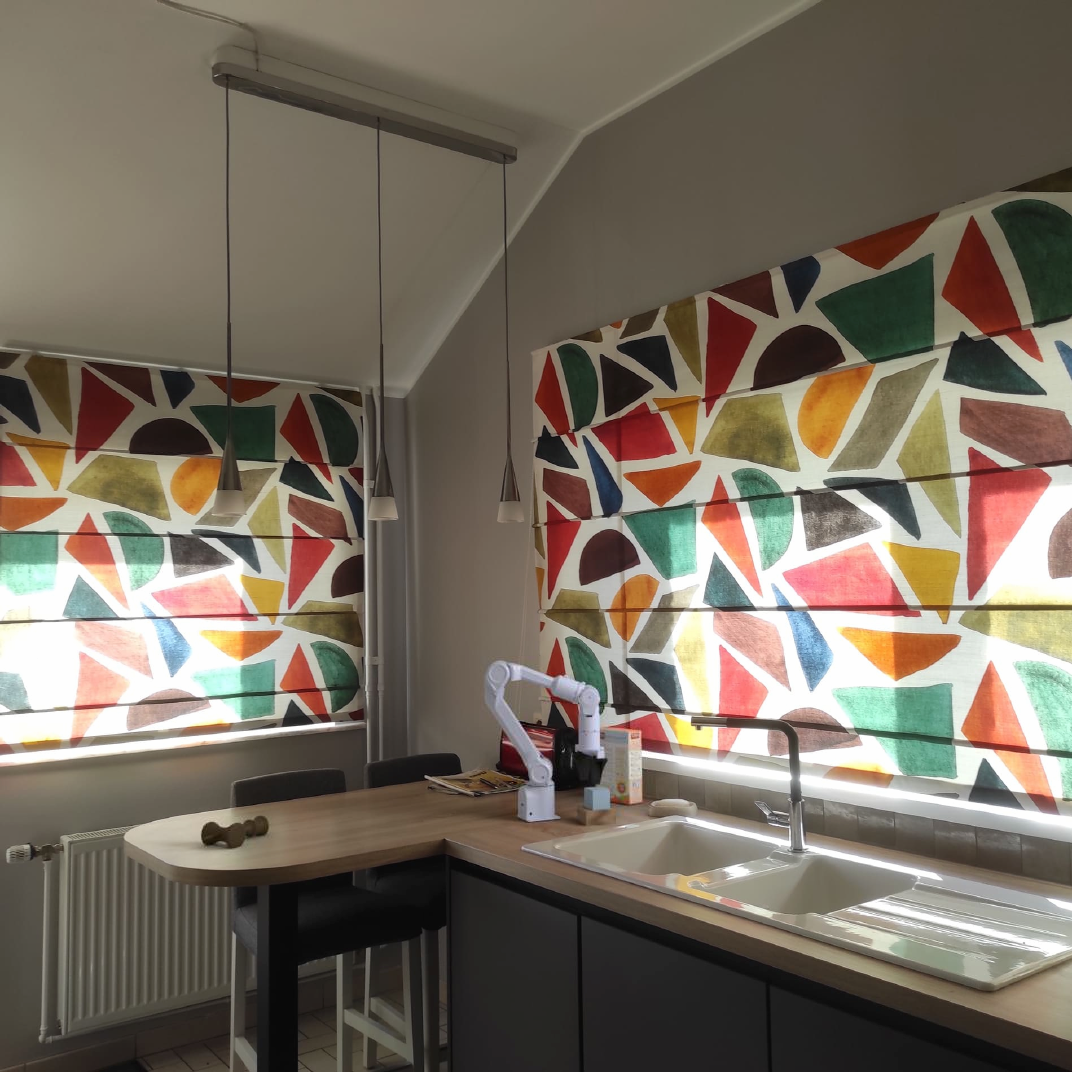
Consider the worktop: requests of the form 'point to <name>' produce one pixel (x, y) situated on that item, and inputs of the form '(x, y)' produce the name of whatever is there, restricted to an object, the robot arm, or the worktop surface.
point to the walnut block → (596, 816)
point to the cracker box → (622, 764)
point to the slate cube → (597, 798)
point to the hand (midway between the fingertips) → (589, 782)
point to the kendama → (234, 831)
